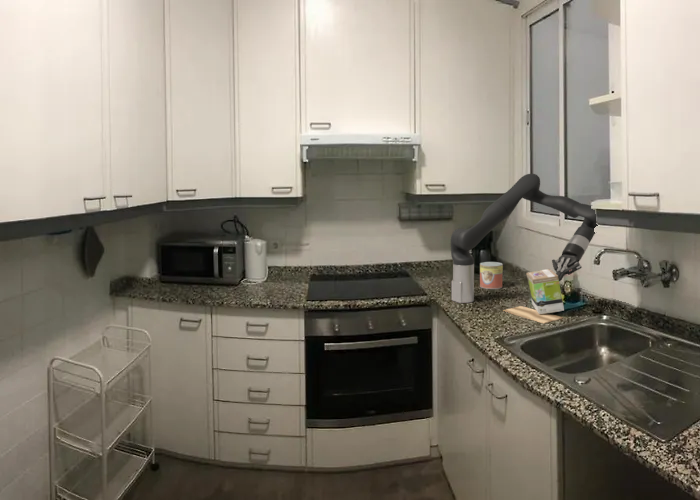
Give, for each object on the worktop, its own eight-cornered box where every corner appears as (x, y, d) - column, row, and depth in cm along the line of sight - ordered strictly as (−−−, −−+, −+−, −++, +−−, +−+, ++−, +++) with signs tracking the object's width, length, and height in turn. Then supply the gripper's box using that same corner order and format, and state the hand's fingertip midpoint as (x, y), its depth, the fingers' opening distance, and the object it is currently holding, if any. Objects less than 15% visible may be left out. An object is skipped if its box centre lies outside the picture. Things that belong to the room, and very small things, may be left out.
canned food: (476, 287, 222) (476, 264, 221) (484, 283, 231) (484, 261, 229) (498, 290, 215) (498, 266, 214) (505, 285, 224) (505, 262, 222)
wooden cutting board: (544, 323, 163) (544, 322, 163) (502, 311, 180) (502, 310, 180) (563, 318, 168) (563, 317, 168) (521, 306, 185) (521, 305, 185)
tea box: (565, 310, 169) (558, 274, 168) (538, 315, 172) (531, 279, 170) (556, 300, 184) (549, 267, 182) (531, 304, 186) (525, 272, 185)
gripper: (594, 255, 178) (575, 288, 174) (565, 251, 189) (546, 283, 185) (587, 243, 174) (567, 277, 170) (557, 241, 186) (538, 272, 182)
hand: (556, 280), depth 178 cm, fingers closed
